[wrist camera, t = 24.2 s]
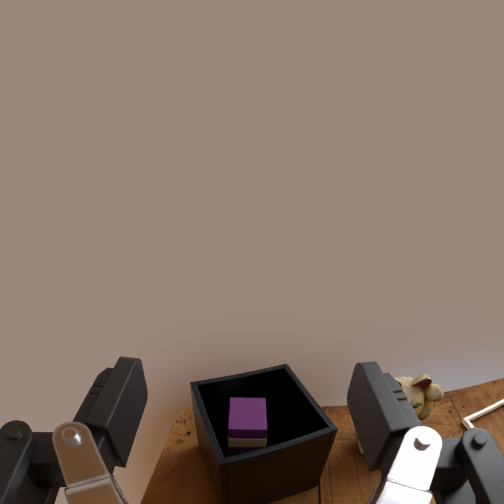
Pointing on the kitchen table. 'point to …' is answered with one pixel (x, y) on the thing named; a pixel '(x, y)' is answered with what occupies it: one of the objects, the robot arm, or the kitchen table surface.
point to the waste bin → (278, 436)
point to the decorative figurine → (418, 395)
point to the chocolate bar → (247, 425)
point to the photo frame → (480, 414)
